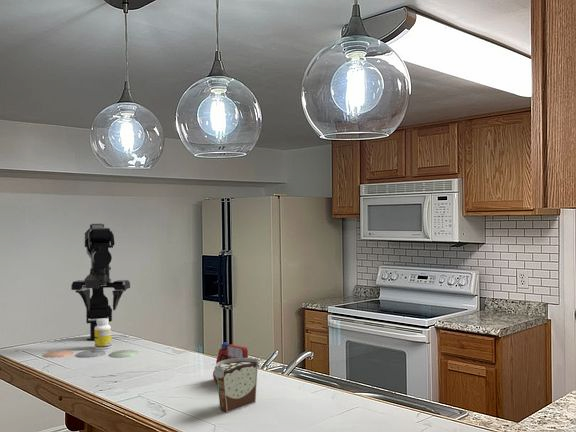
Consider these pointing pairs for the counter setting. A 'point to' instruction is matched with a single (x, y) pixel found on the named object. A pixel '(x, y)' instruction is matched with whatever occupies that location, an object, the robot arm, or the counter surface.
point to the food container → (236, 383)
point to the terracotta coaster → (58, 353)
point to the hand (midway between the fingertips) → (101, 310)
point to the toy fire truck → (230, 354)
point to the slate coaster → (91, 353)
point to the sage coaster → (124, 353)
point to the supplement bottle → (102, 334)
